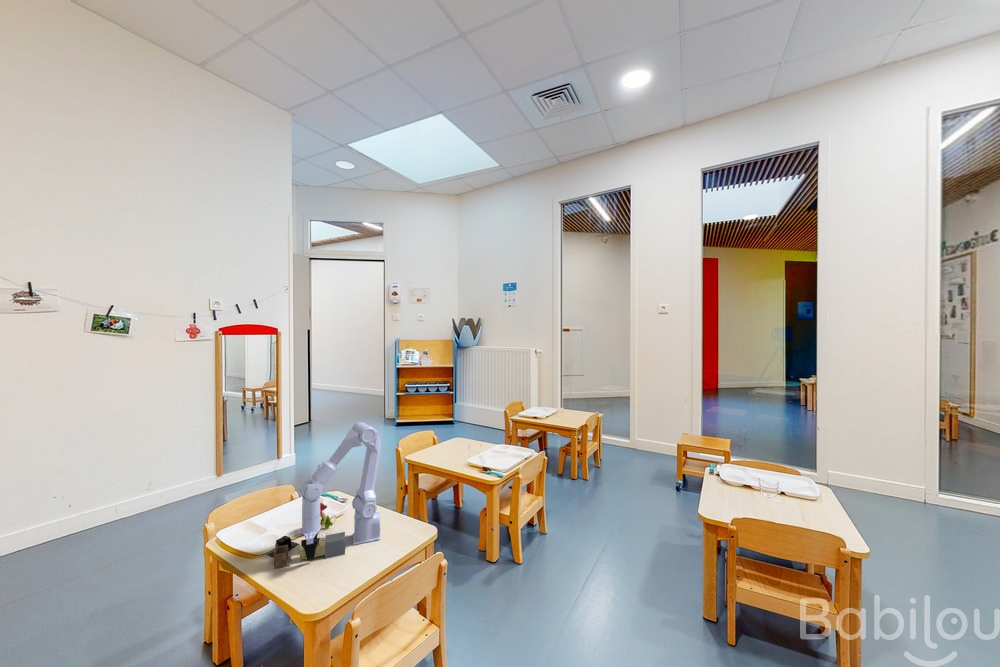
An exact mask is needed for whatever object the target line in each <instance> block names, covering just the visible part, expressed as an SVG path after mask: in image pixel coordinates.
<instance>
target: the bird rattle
mask: <svg viewBox="0 0 1000 667" xmlns="http://www.w3.org/2000/svg"><path fill="white" fill-rule="evenodd" d="M327 508H328V505H327V504H324V503H323V502H320V525H321V529H323V527H324V528H325V529H329V528H330V526H331V527H332V526H333V525H334V523H333V522H332V521H331V517H330V516H329V515H326V513H325V512H324V510H326V509H327Z"/></svg>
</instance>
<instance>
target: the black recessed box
mask: <svg viewBox="0 0 1000 667" xmlns="http://www.w3.org/2000/svg"><path fill="white" fill-rule="evenodd" d="M276 544H278V547H279V546H284V545H288V553H289V552H290V551H291V550H294V549H295V548H296V547H299V546H300V545H301V543H297V542H294V541H292V538H291V536H287V535H284V536H281V537H280V538H278V539H276V540H275V543H274V547H275V546H276ZM274 550H275V549H274ZM274 550H272V551H269V552H268V553H267V554H266V556H268V557H271V558H273V559H274Z"/></svg>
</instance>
